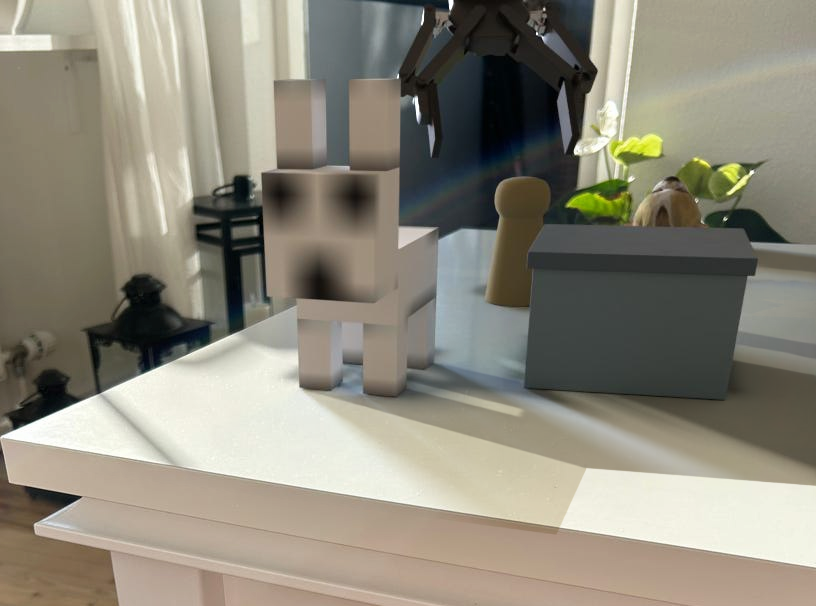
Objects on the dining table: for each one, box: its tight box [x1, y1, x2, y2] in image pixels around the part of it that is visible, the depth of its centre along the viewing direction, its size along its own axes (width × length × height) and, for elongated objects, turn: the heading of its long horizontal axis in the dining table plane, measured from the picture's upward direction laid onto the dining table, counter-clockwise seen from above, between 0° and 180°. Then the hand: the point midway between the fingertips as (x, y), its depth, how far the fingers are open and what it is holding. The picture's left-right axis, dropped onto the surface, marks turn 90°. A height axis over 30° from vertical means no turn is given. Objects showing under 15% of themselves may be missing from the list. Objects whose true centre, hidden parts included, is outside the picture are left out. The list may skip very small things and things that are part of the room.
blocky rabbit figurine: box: [260, 77, 440, 398], centre depth 72 cm, size 8×18×20 cm, turn 159°
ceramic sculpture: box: [620, 175, 711, 228], centre depth 118 cm, size 11×9×15 cm
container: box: [523, 223, 759, 401], centre depth 76 cm, size 15×13×10 cm
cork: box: [484, 176, 552, 307], centre depth 98 cm, size 6×6×11 cm
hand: (504, 147), depth 101 cm, fingers open, 13 cm apart
